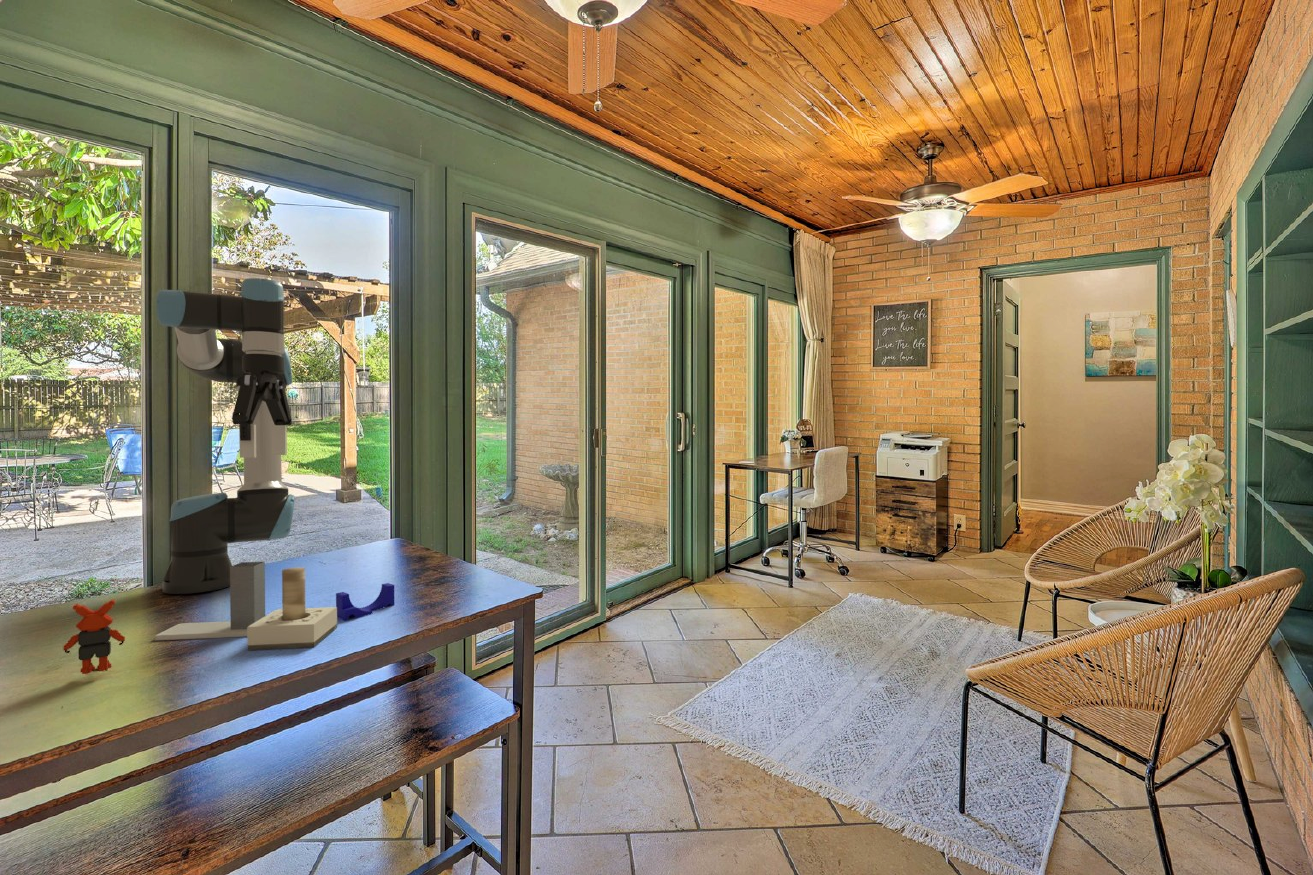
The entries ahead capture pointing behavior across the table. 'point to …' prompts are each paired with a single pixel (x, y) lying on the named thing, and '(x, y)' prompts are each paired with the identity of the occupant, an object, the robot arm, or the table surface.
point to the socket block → (292, 630)
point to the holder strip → (200, 631)
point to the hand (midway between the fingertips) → (264, 456)
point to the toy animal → (94, 637)
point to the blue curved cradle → (348, 609)
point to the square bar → (247, 594)
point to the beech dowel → (293, 593)
